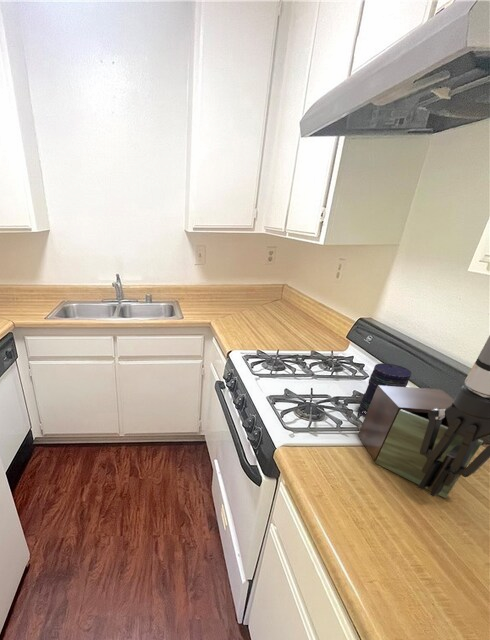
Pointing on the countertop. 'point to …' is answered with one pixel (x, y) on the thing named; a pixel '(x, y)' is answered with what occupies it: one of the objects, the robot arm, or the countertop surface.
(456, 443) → the door
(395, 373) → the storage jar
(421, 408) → the cupboard
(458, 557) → the countertop surface
